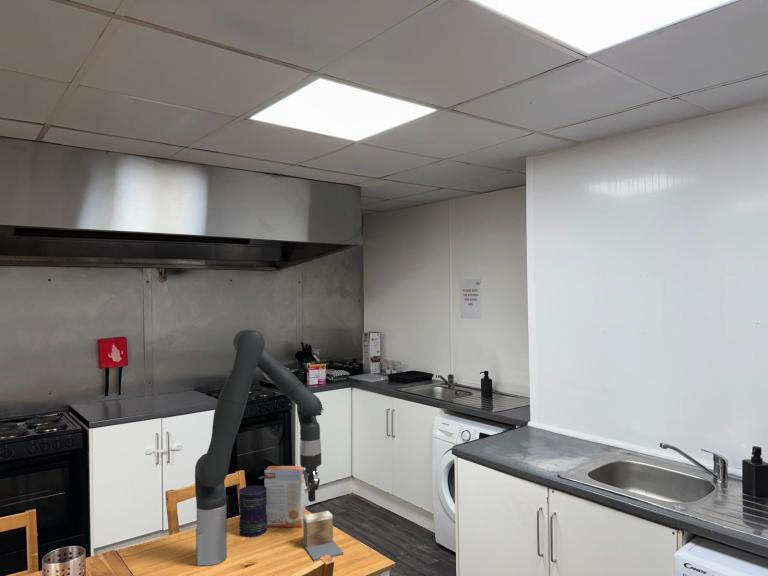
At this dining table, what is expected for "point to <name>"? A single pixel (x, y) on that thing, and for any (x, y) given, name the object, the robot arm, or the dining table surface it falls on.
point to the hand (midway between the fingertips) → (311, 500)
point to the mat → (323, 550)
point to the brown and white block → (318, 528)
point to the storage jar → (253, 511)
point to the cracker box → (285, 496)
